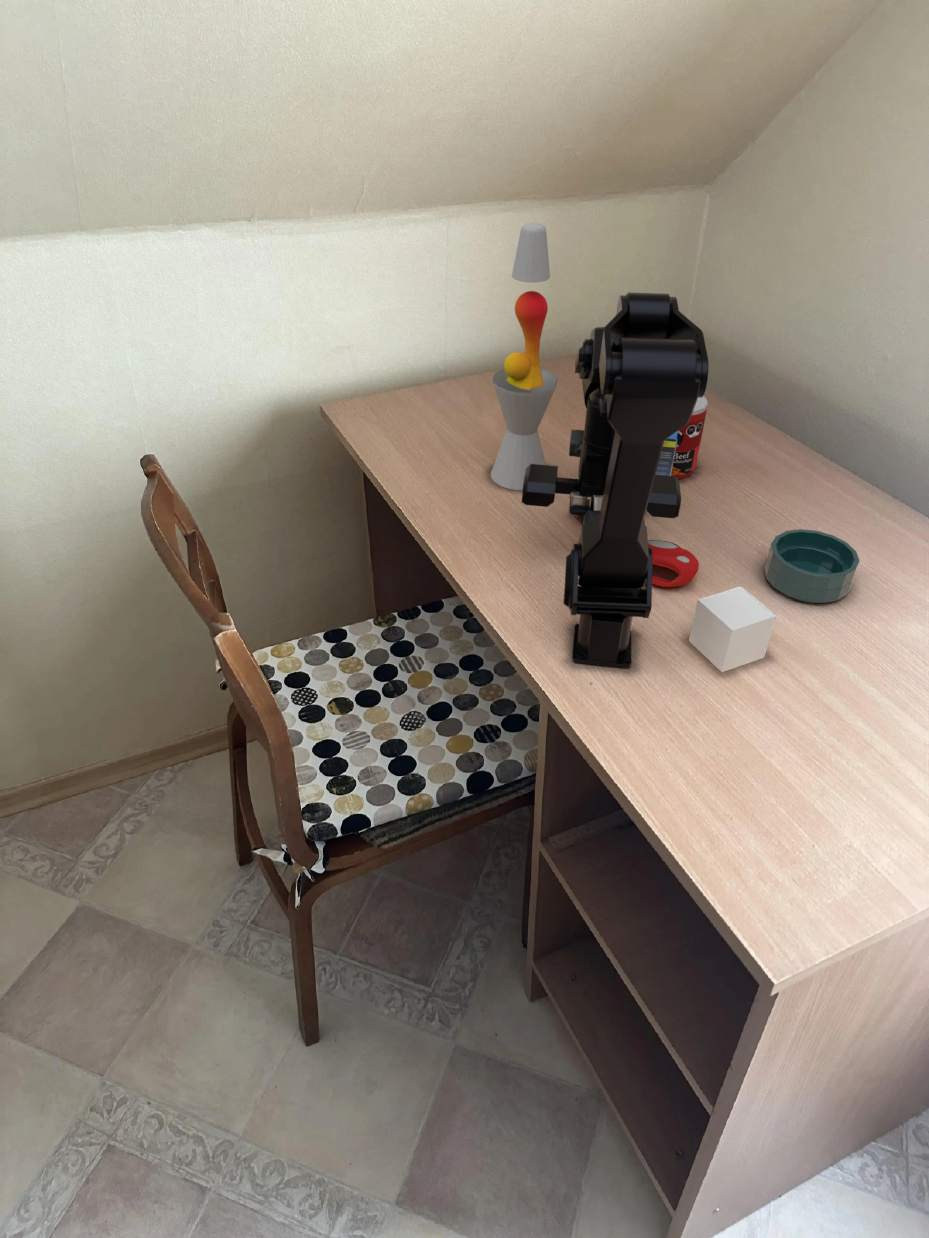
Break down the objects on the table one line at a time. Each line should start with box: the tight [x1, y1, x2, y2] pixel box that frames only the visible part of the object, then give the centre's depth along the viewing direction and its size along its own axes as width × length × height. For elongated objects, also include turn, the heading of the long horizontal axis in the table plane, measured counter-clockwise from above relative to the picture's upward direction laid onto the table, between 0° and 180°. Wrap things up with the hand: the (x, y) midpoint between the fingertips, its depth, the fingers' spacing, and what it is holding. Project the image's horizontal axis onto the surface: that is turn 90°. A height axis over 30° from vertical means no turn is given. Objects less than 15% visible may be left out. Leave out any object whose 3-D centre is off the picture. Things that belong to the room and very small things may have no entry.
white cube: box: [688, 586, 777, 673], centre depth 100 cm, size 6×6×6 cm
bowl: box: [764, 528, 860, 604], centre depth 111 cm, size 10×10×4 cm
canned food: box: [671, 395, 709, 480], centre depth 131 cm, size 8×8×11 cm
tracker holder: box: [648, 539, 700, 588], centre depth 112 cm, size 12×4×10 cm
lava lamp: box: [490, 222, 559, 491], centre depth 122 cm, size 9×9×35 cm
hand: (592, 548), depth 114 cm, fingers closed
